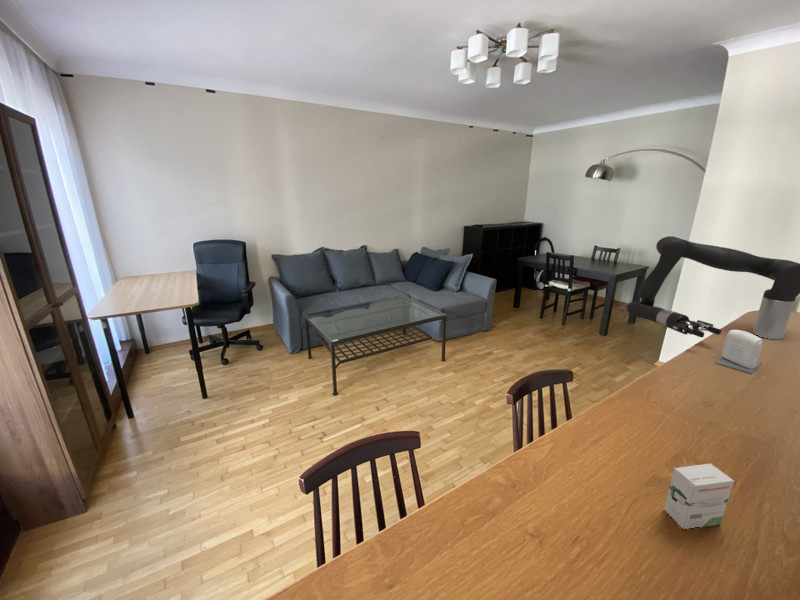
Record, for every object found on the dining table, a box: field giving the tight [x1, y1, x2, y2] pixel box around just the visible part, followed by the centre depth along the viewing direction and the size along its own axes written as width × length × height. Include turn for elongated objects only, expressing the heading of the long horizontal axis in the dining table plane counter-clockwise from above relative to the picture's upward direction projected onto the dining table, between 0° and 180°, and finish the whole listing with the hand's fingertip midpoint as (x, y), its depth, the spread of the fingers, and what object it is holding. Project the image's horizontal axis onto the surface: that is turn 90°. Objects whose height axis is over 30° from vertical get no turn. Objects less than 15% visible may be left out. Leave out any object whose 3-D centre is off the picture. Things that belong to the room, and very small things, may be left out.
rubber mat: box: [714, 356, 762, 375], centre depth 126 cm, size 12×10×1 cm
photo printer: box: [720, 329, 764, 369], centre depth 124 cm, size 10×4×12 cm, turn 8°
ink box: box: [663, 462, 735, 529], centre depth 68 cm, size 9×5×12 cm, turn 96°
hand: (711, 333), depth 133 cm, fingers open, 8 cm apart
